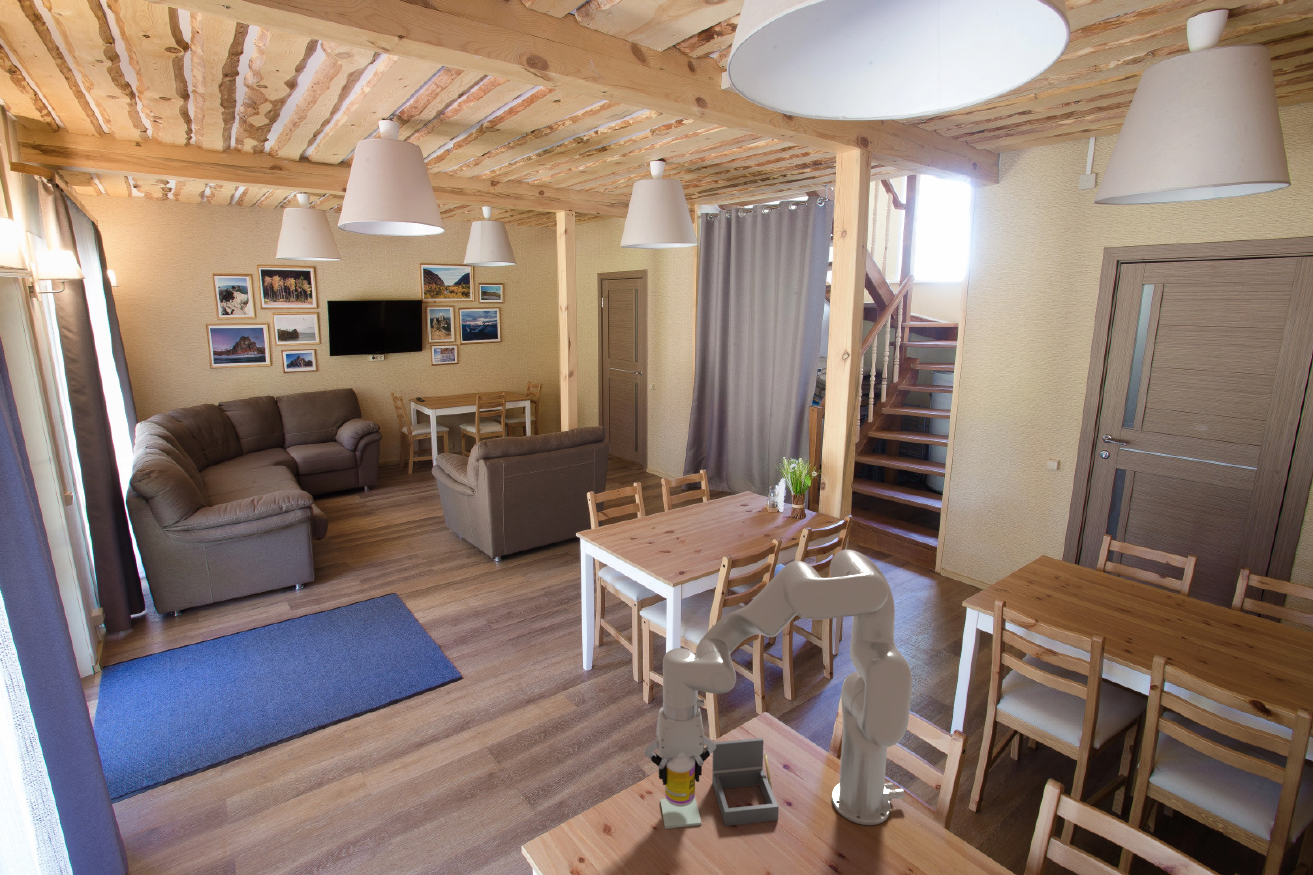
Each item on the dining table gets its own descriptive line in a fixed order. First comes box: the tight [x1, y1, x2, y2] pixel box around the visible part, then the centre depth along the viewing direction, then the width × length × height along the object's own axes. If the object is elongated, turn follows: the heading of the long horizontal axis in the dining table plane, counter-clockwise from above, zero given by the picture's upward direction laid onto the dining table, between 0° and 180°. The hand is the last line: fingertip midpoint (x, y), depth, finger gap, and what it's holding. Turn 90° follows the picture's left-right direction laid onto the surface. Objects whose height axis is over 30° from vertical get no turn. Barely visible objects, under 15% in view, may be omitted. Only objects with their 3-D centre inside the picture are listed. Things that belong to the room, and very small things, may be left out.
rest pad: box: [659, 796, 702, 830], centre depth 143 cm, size 8×8×1 cm
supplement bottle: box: [664, 753, 696, 807], centre depth 141 cm, size 7×7×13 cm
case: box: [711, 737, 779, 827], centre depth 145 cm, size 13×13×11 cm
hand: (680, 778), depth 141 cm, fingers closed on supplement bottle, 6 cm apart
